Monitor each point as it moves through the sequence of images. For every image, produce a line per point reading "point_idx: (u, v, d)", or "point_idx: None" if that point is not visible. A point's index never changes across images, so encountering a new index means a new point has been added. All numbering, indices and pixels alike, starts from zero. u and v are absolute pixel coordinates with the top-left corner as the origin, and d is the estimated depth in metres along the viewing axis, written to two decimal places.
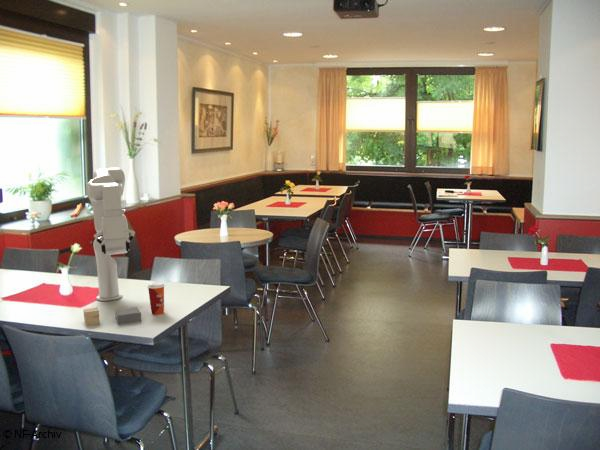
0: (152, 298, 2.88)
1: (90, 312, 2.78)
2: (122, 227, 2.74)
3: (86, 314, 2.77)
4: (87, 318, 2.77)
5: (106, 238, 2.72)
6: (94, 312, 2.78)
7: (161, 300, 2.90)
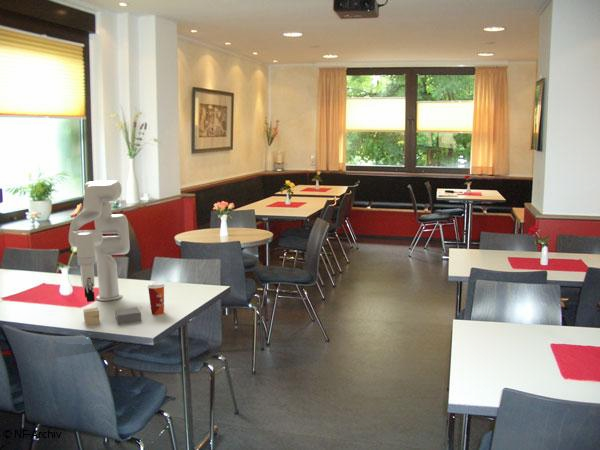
0: (152, 298, 2.88)
1: (90, 312, 2.78)
2: None
3: (86, 314, 2.77)
4: (87, 318, 2.77)
5: None
6: (94, 312, 2.78)
7: (161, 300, 2.90)
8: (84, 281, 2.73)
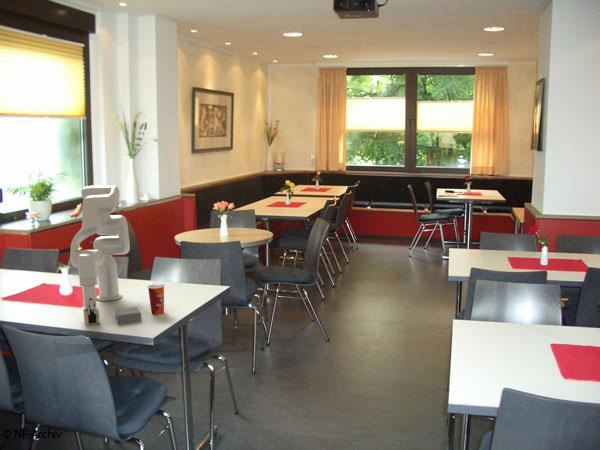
0: (152, 298, 2.88)
1: None
2: None
3: (86, 314, 2.77)
4: (87, 318, 2.77)
5: None
6: None
7: (161, 300, 2.90)
8: (86, 302, 2.74)
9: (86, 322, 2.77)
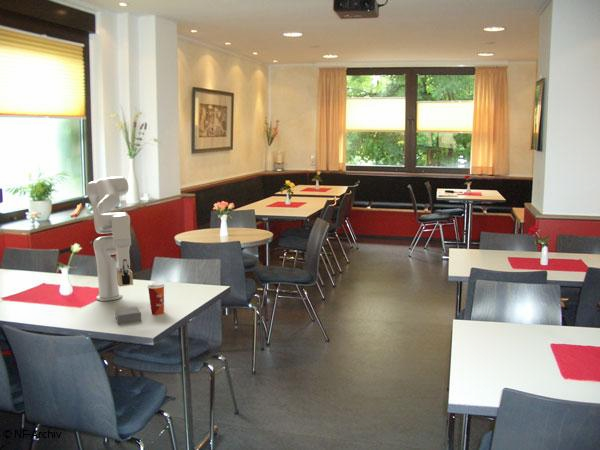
0: (152, 298, 2.88)
1: None
2: None
3: (120, 275, 2.77)
4: (121, 279, 2.77)
5: (129, 266, 2.77)
6: None
7: (161, 300, 2.90)
8: (120, 263, 2.74)
9: (120, 283, 2.77)
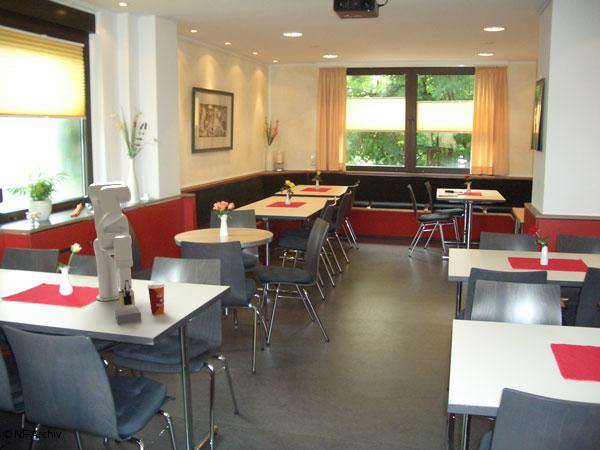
0: (152, 298, 2.88)
1: None
2: None
3: (121, 296, 2.78)
4: (122, 300, 2.78)
5: None
6: None
7: (161, 300, 2.90)
8: (122, 283, 2.75)
9: (121, 304, 2.78)
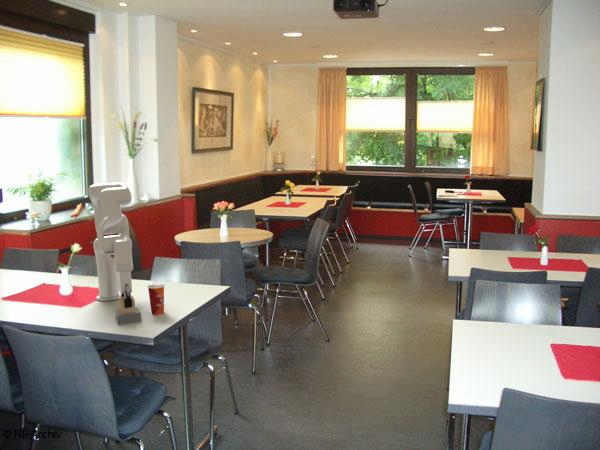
0: (152, 298, 2.88)
1: None
2: None
3: (122, 302, 2.79)
4: (123, 306, 2.79)
5: (131, 291, 2.79)
6: None
7: (161, 300, 2.90)
8: (122, 287, 2.76)
9: (122, 310, 2.79)
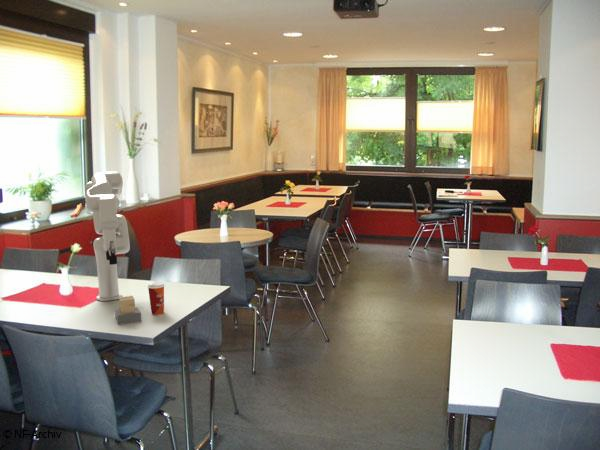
0: (152, 298, 2.88)
1: (126, 300, 2.79)
2: None
3: (122, 302, 2.79)
4: (123, 306, 2.79)
5: (116, 248, 2.83)
6: (130, 300, 2.80)
7: (161, 300, 2.90)
8: (107, 244, 2.80)
9: (122, 310, 2.79)
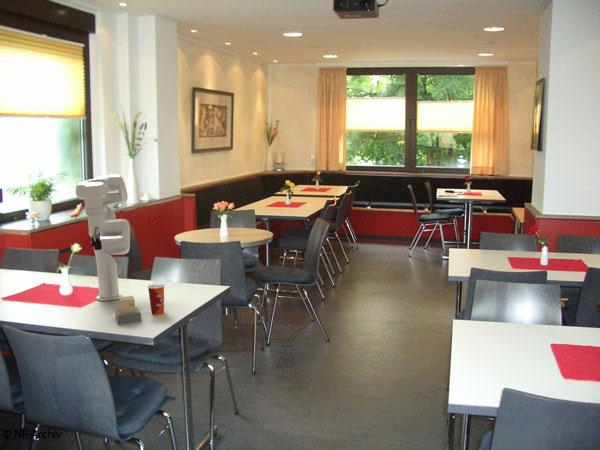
0: (152, 298, 2.88)
1: (126, 300, 2.79)
2: None
3: (122, 302, 2.79)
4: (123, 306, 2.79)
5: (101, 234, 2.90)
6: (130, 300, 2.80)
7: (161, 300, 2.90)
8: (92, 230, 2.87)
9: (122, 310, 2.79)
